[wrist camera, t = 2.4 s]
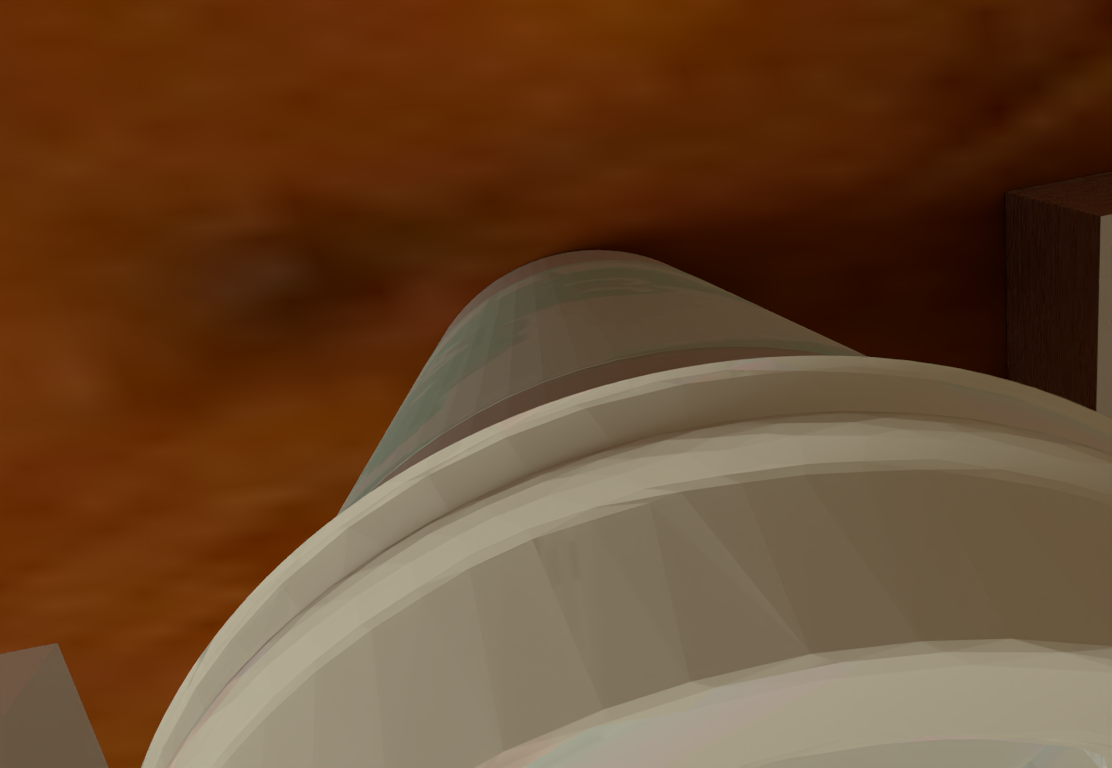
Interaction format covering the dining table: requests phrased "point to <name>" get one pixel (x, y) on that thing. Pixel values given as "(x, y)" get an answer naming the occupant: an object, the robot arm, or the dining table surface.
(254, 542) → the dining table surface
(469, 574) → the coffee cup
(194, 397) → the dining table surface
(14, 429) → the dining table surface
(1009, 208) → the button box with rail
